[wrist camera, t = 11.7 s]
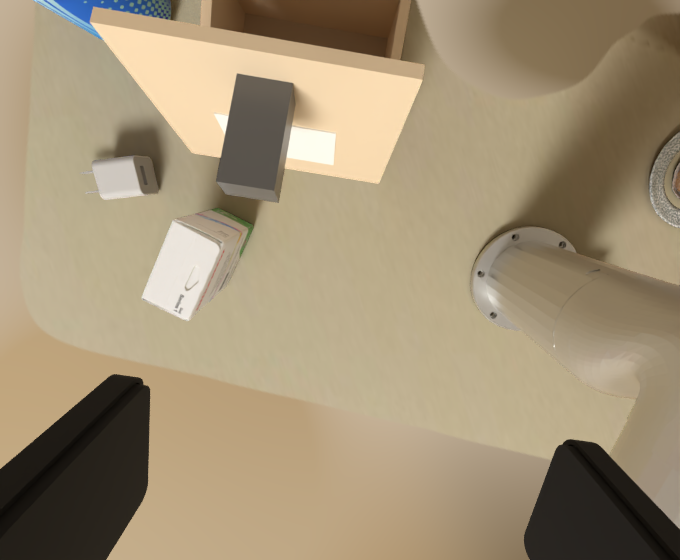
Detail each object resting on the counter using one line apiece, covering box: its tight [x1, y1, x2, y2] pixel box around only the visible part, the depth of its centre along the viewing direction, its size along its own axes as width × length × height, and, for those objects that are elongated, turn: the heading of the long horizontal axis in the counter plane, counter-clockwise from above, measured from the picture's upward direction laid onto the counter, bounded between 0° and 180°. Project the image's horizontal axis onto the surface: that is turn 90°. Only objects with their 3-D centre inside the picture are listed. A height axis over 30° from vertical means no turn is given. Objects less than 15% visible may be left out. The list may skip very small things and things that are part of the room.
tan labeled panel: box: [90, 7, 425, 203], centre depth 24 cm, size 16×14×7 cm
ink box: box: [142, 208, 253, 321], centre depth 38 cm, size 8×5×12 cm, turn 152°
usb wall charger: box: [80, 155, 159, 200], centre depth 40 cm, size 4×7×4 cm, turn 97°
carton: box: [200, 0, 411, 60], centre depth 35 cm, size 16×14×10 cm
